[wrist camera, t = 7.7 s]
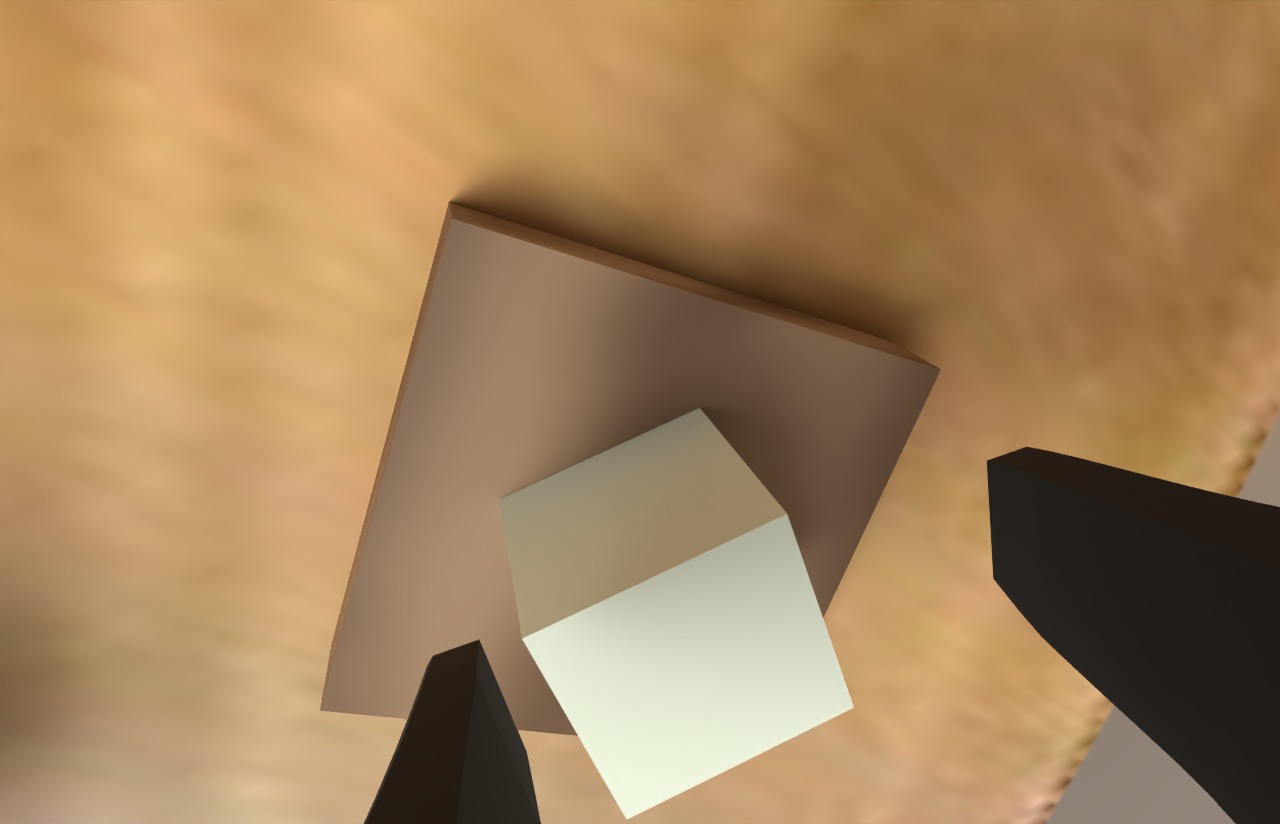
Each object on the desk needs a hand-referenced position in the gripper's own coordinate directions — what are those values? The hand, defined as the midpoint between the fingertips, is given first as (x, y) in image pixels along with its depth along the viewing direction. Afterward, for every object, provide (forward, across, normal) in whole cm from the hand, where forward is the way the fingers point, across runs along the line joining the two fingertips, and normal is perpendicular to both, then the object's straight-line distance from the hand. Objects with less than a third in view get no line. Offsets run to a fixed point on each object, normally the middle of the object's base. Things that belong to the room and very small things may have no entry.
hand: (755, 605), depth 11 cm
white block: (+8, +1, +4) cm, 9 cm away
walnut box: (+11, +1, +4) cm, 12 cm away
